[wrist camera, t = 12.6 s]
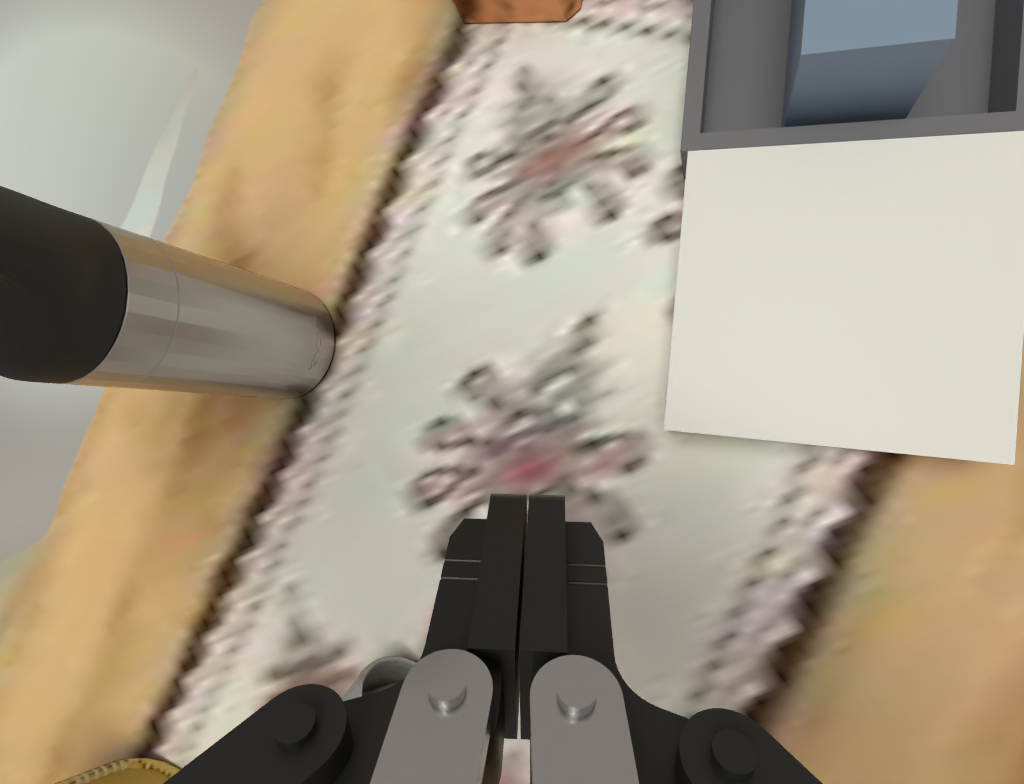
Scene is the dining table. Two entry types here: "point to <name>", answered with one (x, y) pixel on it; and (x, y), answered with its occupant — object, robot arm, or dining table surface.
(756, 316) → the white slab
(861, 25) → the slate block
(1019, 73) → the box
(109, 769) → the picnic basket
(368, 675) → the ceramic mug
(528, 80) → the dining table surface
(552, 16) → the whiskey bottle
